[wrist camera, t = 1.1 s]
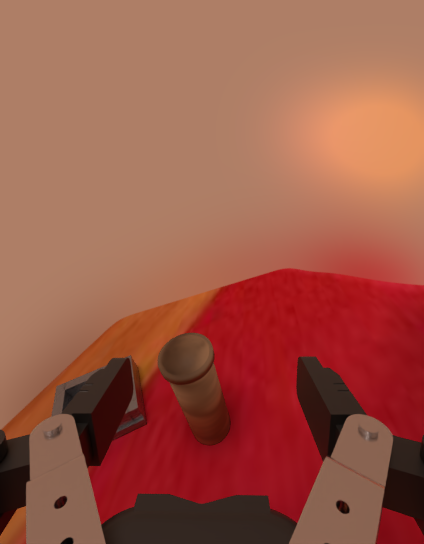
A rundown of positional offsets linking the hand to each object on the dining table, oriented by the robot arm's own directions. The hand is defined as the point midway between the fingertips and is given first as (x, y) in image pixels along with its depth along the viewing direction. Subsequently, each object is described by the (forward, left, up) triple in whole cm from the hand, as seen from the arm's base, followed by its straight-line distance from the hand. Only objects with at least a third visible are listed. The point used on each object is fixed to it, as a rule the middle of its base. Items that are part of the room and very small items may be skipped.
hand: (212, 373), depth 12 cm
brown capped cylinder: (+1, -9, -19) cm, 21 cm away
